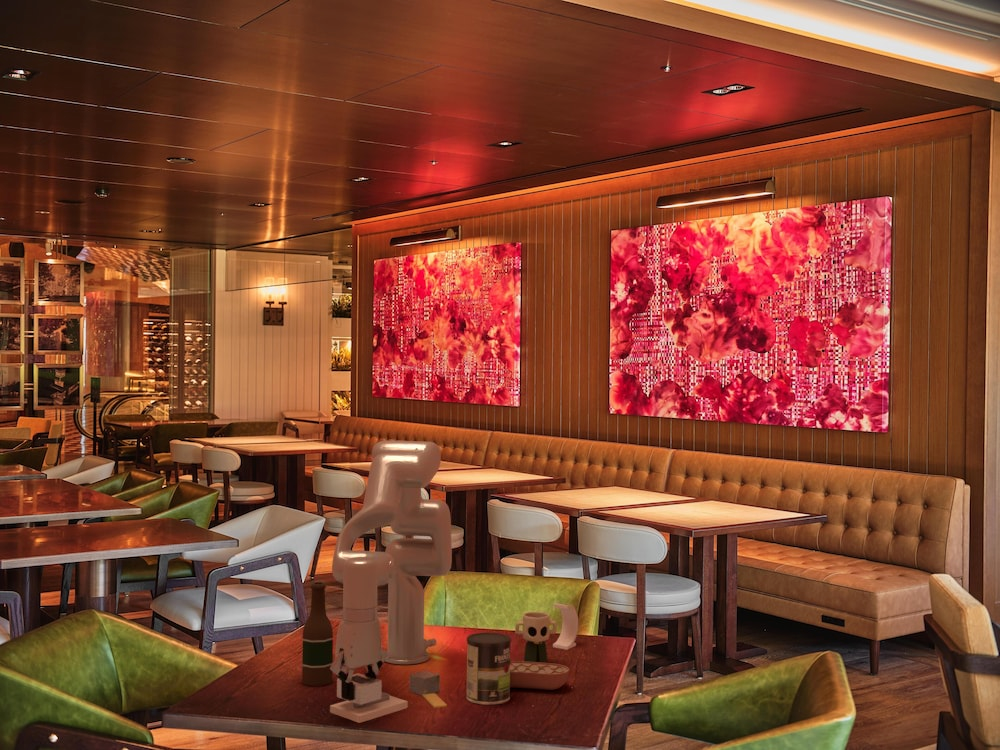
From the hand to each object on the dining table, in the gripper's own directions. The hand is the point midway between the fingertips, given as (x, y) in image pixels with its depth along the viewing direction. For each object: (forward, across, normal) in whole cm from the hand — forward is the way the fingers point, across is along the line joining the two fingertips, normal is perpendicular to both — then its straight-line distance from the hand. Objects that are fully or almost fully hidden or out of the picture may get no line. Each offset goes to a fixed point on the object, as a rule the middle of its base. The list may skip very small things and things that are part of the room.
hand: (358, 694), depth 227 cm
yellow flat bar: (+4, -17, +6) cm, 19 cm away
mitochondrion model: (+4, -40, +13) cm, 42 cm away
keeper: (+4, -3, 0) cm, 5 cm away
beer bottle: (+4, -8, -25) cm, 26 cm away
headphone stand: (+4, -77, -3) cm, 77 cm away
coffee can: (+4, -28, +13) cm, 31 cm away
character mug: (+4, -57, +3) cm, 57 cm away
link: (+1, 0, 0) cm, 1 cm away
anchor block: (+4, -21, -1) cm, 21 cm away
